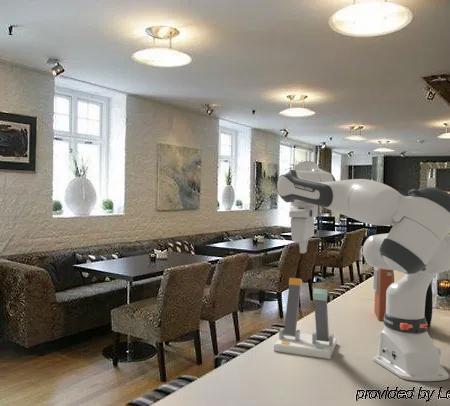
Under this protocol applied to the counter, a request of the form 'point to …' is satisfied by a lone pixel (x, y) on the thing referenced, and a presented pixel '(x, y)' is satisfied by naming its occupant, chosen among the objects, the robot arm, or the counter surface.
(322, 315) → the lever teal
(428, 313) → the portable speaker
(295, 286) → the lever orange
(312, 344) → the console
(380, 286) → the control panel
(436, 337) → the counter surface
